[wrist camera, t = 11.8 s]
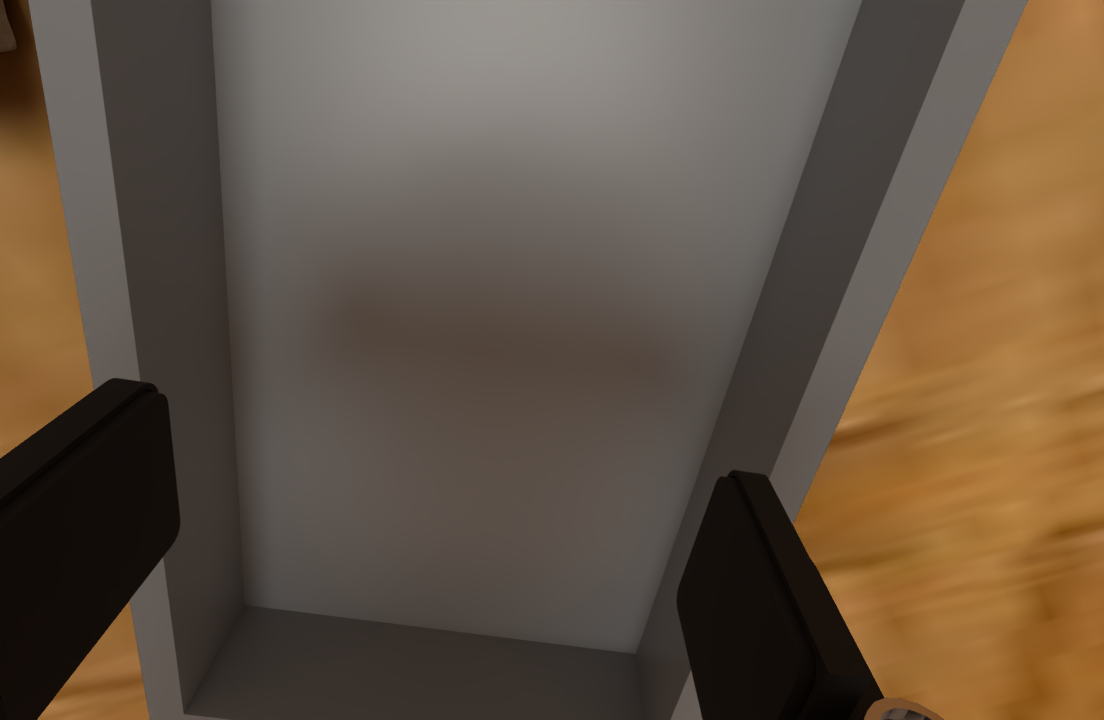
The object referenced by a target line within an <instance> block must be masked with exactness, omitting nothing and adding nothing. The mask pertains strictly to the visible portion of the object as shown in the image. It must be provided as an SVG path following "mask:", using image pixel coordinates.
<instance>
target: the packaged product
mask: <svg viewBox="0 0 1104 720" xmlns="http://www.w3.org/2000/svg"><path fill="white" fill-rule="evenodd" d="M15 49H17V48H16V40H15V37H14V34H13V32H12V29H11V26H10V24H9V21H8V19H7V15H6V11H5V7H4V2H3V0H0V52H5V51H10V50H15Z"/></svg>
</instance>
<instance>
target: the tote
mask: <svg viewBox="0 0 1104 720" xmlns="http://www.w3.org/2000/svg"><path fill="white" fill-rule="evenodd" d="M1027 1H1028V0H28V2H29V8H30V14H31V20H32V26H33V32H34V38H35V44H36V49H37V55H38V61H39V67H40V73H41V79H42V85H43V91H44V97H45V103H46V109H47V115H48V121H49V126H50V132H51V138H52V144H53V150H54V156H55V162H56V168H57V174H58V180H59V186H60V192H61V197H62V203H63V209H64V215H65V221H66V227H67V233H68V239H69V245H70V251H71V257H72V263H73V268H74V274H75V280H76V286H77V292H78V298H79V304H80V310H81V316H82V322H83V328H84V334H85V339H86V345H87V351H88V357H89V363H90V369H91V375H92V381H93V387H94V390H95V389H96V388H98V387H99V386H101V385H102V384H103V383H105V382H106V381H108V380H110V379H112V378H121V379H128V380H134V381H141V382H148V383H152V384H154V385H155V386H156V387H157V389H158V392H159V393H161V394H164V395H165V396H166V397H167V400H168V405H169V415H170V424H171V434H172V443H173V453H174V463H175V472H176V482H177V491H178V501H179V510H180V530H179V533H178V536H177V538H176V540H175V542H174V543H173V545H172V546H171V547H170V549H169V550H168V551H167V553H166V554H165V555H164V556H163V558H162V559H161V560H160V562H159V563H158V564H157V566H156V567H155V568H154V569H153V571H152V572H151V573H150V575H149V576H148V577H147V578H146V580H145V581H144V582H143V584H142V585H141V586H140V587H139V589H138V590H137V591H136V593H135V594H134V595H133V596H132V598H131V599H130V606H131V612H132V618H133V624H134V629H135V635H136V641H137V647H138V653H139V659H140V665H141V671H142V677H143V683H144V689H145V695H146V700H147V706H148V712H149V718H150V720H703V719H702V715H701V711H700V706H699V702H698V698H697V693H696V689H695V685H694V680H693V676H692V671H691V667H690V663H689V658H688V654H687V650H686V645H685V641H684V637H683V632H682V628H681V624H680V619H679V615H678V610H677V590H678V587H679V584H680V581H681V578H682V575H683V572H684V570H685V567H686V564H687V561H688V559H689V556H690V553H691V550H692V547H693V545H694V542H695V539H696V536H697V534H698V531H699V528H700V525H701V522H702V520H703V517H704V514H705V511H706V509H707V506H708V503H709V500H710V497H711V495H712V492H713V489H714V486H715V484H716V481H717V479H718V478H719V477H721V476H723V477H727V475H728V474H729V472H730V471H732V470H739V471H746V472H753V473H759V474H764V475H766V476H767V477H768V478H769V480H770V482H771V484H772V486H773V488H774V490H775V492H776V494H777V496H778V498H779V499H780V501H781V503H782V505H783V507H784V509H785V511H786V513H787V515H788V517H789V519H790V521H791V523H792V525H793V523H794V521H795V519H796V516H797V514H798V512H799V510H800V507H801V505H802V503H803V501H804V498H805V496H806V494H807V492H808V490H809V487H810V485H811V483H812V481H813V478H814V476H815V474H816V472H817V469H818V467H819V465H820V463H821V461H822V458H823V456H824V454H825V452H826V449H827V447H828V445H829V443H830V440H831V438H832V436H833V434H834V432H835V429H836V427H837V425H838V423H839V420H840V418H841V416H842V414H843V412H844V409H845V407H846V405H847V403H848V400H849V398H850V396H851V394H852V391H853V389H854V387H855V385H856V383H857V380H858V378H859V376H860V374H861V371H862V369H863V367H864V365H865V362H866V360H867V358H868V356H869V354H870V351H871V349H872V347H873V345H874V342H875V340H876V338H877V336H878V333H879V331H880V329H881V327H882V325H883V322H884V320H885V318H886V316H887V313H888V311H889V309H890V307H891V304H892V302H893V300H894V298H895V296H896V293H897V291H898V289H899V287H900V284H901V282H902V280H903V278H904V276H905V273H906V271H907V269H908V267H909V264H910V262H911V260H912V258H913V255H914V253H915V251H916V249H917V247H918V244H919V242H920V240H921V238H922V235H923V233H924V231H925V229H926V226H927V224H928V222H929V220H930V218H931V215H932V213H933V211H934V209H935V206H936V204H937V202H938V200H939V197H940V195H941V193H942V191H943V189H944V186H945V184H946V182H947V180H948V177H949V175H950V173H951V171H952V168H953V166H954V164H955V162H956V160H957V157H958V155H959V153H960V151H961V148H962V146H963V144H964V142H965V140H966V137H967V135H968V133H969V131H970V128H971V126H972V124H973V122H974V119H975V117H976V115H977V113H978V111H979V108H980V106H981V104H982V102H983V99H984V97H985V95H986V93H987V90H988V88H989V86H990V84H991V82H992V79H993V77H994V75H995V73H996V70H997V68H998V66H999V64H1000V61H1001V59H1002V57H1003V55H1004V53H1005V50H1006V48H1007V46H1008V44H1009V41H1010V39H1011V37H1012V35H1013V32H1014V30H1015V28H1016V26H1017V24H1018V21H1019V19H1020V17H1021V15H1022V12H1023V10H1024V8H1025V6H1026V4H1027Z"/></svg>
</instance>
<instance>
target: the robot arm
mask: <svg viewBox="0 0 1104 720" xmlns="http://www.w3.org/2000/svg"><path fill="white" fill-rule="evenodd" d="M179 530H180V510H179V501H178V491H177V482H176V472H175V463H174V453H173V443H172V434H171V424H170V415H169V405H168V400H167V397H166V396H165V395H164V394H161V393H159V392H158V389H157V387H156V386H155V385H154V384H152V383H148V382H141V381H134V380H128V379H121V378H112V379H110V380H108V381H106V382H105V383H103V384H102V385H101V386H99V387H98V388H96V389H95V390H94V391H92V392H91V393H90V394H88V395H87V396H85V397H84V398H83V399H81V400H80V401H79V402H77V403H76V404H74V405H73V406H72V407H70V408H69V409H68V410H66V411H65V412H63V413H62V414H61V415H59V416H58V417H57V418H55V419H54V420H53V421H51V422H50V423H48V424H47V425H46V426H44V427H43V428H42V429H40V430H39V431H37V432H36V433H35V434H33V435H32V436H31V437H29V438H28V439H26V440H25V441H24V442H22V443H21V444H20V445H18V446H17V447H15V448H14V449H13V450H11V451H10V452H9V453H7V454H6V455H4V456H3V457H2V458H0V720H37V719H38V718H39V716H40V715H41V714H42V712H43V711H44V710H45V709H46V707H47V706H48V705H49V703H50V702H51V701H52V700H53V698H54V697H55V696H56V694H57V693H58V692H59V691H60V689H61V688H62V687H63V685H64V684H65V683H66V682H67V680H68V679H69V678H70V676H71V675H72V674H73V672H74V671H75V670H76V669H77V667H78V666H79V665H80V663H81V662H82V661H83V660H84V658H85V657H86V656H87V654H88V653H89V652H90V651H91V649H92V648H93V647H94V645H95V644H96V643H97V642H98V640H99V639H100V638H101V636H102V635H103V634H104V633H105V631H106V630H107V629H108V627H109V626H110V625H111V624H112V622H113V621H114V620H115V618H116V617H117V616H118V614H119V613H120V612H121V611H122V609H123V608H124V607H125V605H126V604H127V603H128V602H129V600H130V599H131V598H132V596H133V595H134V594H135V593H136V591H137V590H138V589H139V587H140V586H141V585H142V584H143V582H144V581H145V580H146V578H147V577H148V576H149V575H150V573H151V572H152V571H153V569H154V568H155V567H156V566H157V564H158V563H159V562H160V560H161V559H162V558H163V556H164V555H165V554H166V553H167V551H168V550H169V549H170V547H171V546H172V545H173V543H174V542H175V540H176V538H177V536H178V533H179ZM677 610H678V615H679V619H680V624H681V628H682V632H683V637H684V641H685V645H686V650H687V654H688V658H689V663H690V667H691V671H692V676H693V680H694V685H695V689H696V693H697V698H698V702H699V706H700V711H701V715H702V719H703V720H944V719H943V718H942V717H940V716H939V715H938V714H937V713H935V712H933V711H931V710H929V709H927V708H925V707H924V706H922V705H920V704H918V703H915V702H911V701H908V700H905V699H902V698H884V696H883V694H882V692H881V691H880V689H879V687H878V685H877V683H876V681H875V679H874V677H873V675H872V673H871V671H870V669H869V667H868V666H867V664H866V662H865V660H864V658H863V656H862V654H861V652H860V650H859V648H858V646H857V644H856V643H855V641H854V639H853V637H852V635H851V633H850V631H849V629H848V627H847V625H846V623H845V621H844V620H843V618H842V616H841V614H840V612H839V610H838V608H837V606H836V604H835V602H834V600H833V598H832V596H831V595H830V593H829V591H828V589H827V587H826V585H825V583H824V581H823V579H822V577H821V575H820V573H819V572H818V570H817V568H816V566H815V565H814V563H813V562H812V560H811V559H810V557H809V555H808V554H807V552H806V550H805V548H804V546H803V544H802V542H801V540H800V538H799V536H798V534H797V532H796V530H795V528H794V527H793V525H792V523H791V521H790V519H789V517H788V515H787V513H786V511H785V509H784V507H783V505H782V503H781V501H780V499H779V498H778V496H777V494H776V492H775V490H774V488H773V486H772V484H771V482H770V480H769V478H768V477H767V476H766V475H764V474H759V473H753V472H746V471H739V470H732V471H730V472H729V474H728V475H727V477H723V476H721V477H719V478H718V479H717V481H716V484H715V486H714V489H713V492H712V495H711V497H710V500H709V503H708V506H707V509H706V511H705V514H704V517H703V520H702V522H701V525H700V528H699V531H698V534H697V536H696V539H695V542H694V545H693V547H692V550H691V553H690V556H689V559H688V561H687V564H686V567H685V570H684V572H683V575H682V578H681V581H680V584H679V587H678V590H677Z"/></svg>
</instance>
